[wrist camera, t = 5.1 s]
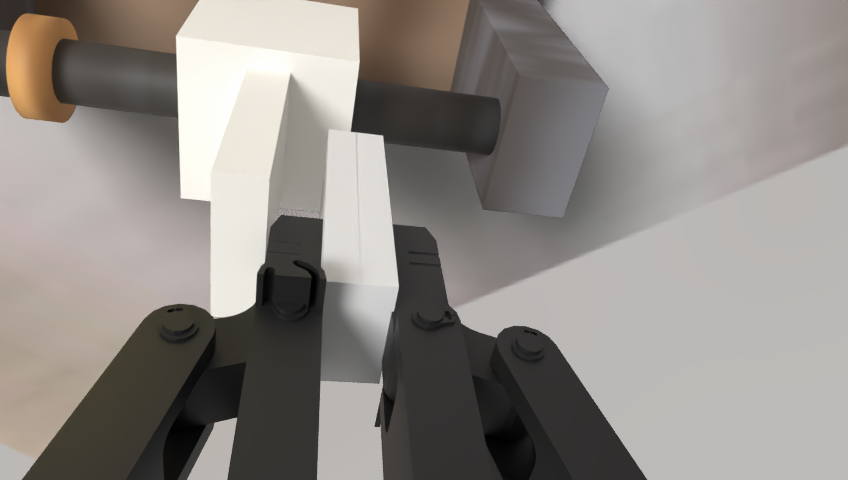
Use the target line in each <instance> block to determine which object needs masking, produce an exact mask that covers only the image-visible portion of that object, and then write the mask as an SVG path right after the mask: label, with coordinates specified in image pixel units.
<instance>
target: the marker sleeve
mask: <svg viewBox="0 0 848 480" xmlns="http://www.w3.org/2000/svg"><path fill="white" fill-rule="evenodd" d="M176 54H177V87H178V120H179V153H180V186H181V198H184V199H194V200H204V201H211V316H217V317H229V316H233V315H237V314H239V313H242V312H244V311H246V310H247V309H249V308H250V307H251V306H253V305H254V303H255V302H256V283H257V272H258V271H259V269H260V267H261V265H263V264H264V263H265V258H266V252H267V246H268V239H269V233H270V227H271V226H272V224H273V223H274V222H275V221H276V220H277V219H278V215H279V209H280V208H283V209H293V210H302V211H312V212H320V205H321V196H322V187H323V178H324V168H325V159H326V150H327V141H328V132H329V129H332V130H340V131H349V132H351V125H352V118H353V110H354V102H355V94H356V87H357V79H358V71H359V63H360V56H359V24H358V8H352V7H345V6H339V5H333V4H326V3H320V2H313V1H307V0H199V1H198V3H197V4H196V6H195V8H194V9H193V11H192V12H191V14H190V15H189V17H188V18H187V20H186V21H185V23H184V24H183V26H182V27H181V29H180V30H179V32H178V34H177V35H176Z"/></svg>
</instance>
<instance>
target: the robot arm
mask: <svg viewBox="0 0 848 480" xmlns="http://www.w3.org/2000/svg"><path fill="white" fill-rule="evenodd" d="M438 254H439V253H438V248H437V243H436V240H435V239H434V237H433V236H432V235H431V234H430V232H429V231H428V230H427V229H426V228H425V227H415V226H404V225H394V224H392V216H391V207H390V197H389V188H388V179H387V169H386V160H385V150H384V141H383V136H382V135H374V134H365V133H357V132H349V131H340V130H332V129H329V132H328V141H327V150H326V159H325V168H324V178H323V187H322V196H321V205H320V215H319V219H316V218H306V217H295V216H285V215H281V216H280V217H279V218H278V219H277V220H276V221H275V222H274V223H273V224H272V226H271V227H270V233H269V239H268V246H267V252H266V258H265V263H264V264H263V265H261V267H260V269H259V271H258V272H257V283H256V302H255V303H254V305H253V306H251V307H250V308H249V309H247V310H246V311H244V312H242V313H239V314H237V315H233V316H229V317H224V318H218V319H214V318H213V316H211V315H210V314H209V313H208V312H207V311H206V310H205V309H202V308H199V307H197V306H194V305H186V304H176V305H169V306H164V307H162V308H160V309H157V310H155V311H153V312H152V313H151V314H149V315H148V316H147V317H146V318H145V319H144V320H143V321H142V322H141V324H140V325H139V326H138V328H137V329H136V330H135V332H134V333H133V334H132V336H131V337H130V338H129V340H128V341H127V342H126V344H125V345H124V346H123V347H122V349H121V350H120V351H119V353H118V354H117V355H116V357H115V358H114V359H113V361H112V362H111V363H110V365H109V366H108V367H107V368H106V370H105V371H104V372H103V374H102V375H101V376H100V378H99V379H98V380H97V382H96V383H95V384H94V386H93V387H92V388H91V390H90V391H89V392H88V393H87V395H86V396H85V397H84V399H83V400H82V401H81V403H80V404H79V405H78V407H77V408H76V409H75V411H74V412H73V413H72V414H71V416H70V417H69V418H68V420H67V421H66V422H65V424H64V425H63V426H62V428H61V429H60V430H59V432H58V433H57V434H56V436H55V437H54V438H53V439H52V441H51V442H50V443H49V445H48V446H47V447H46V449H45V450H44V451H43V453H42V454H41V455H40V457H39V458H38V459H37V460H36V462H35V463H34V465H33V466H32V467H31V468H30V470H29V471H28V472H27V474H26V475H25V476H24V478H23V479H22V480H187V478H188V476H189V474H190V472H191V470H192V468H193V467H194V465H195V463H196V461H197V459H198V457H199V455H200V453H201V451H202V449H203V447H204V445H205V443H206V441H207V439H208V437H209V435H210V434H211V432H212V430H213V427H214V423H215V422H219V421H223V420H228V419H232V418H237V423H236V430H235V436H234V442H233V448H232V454H231V460H230V467H229V473H228V480H317V459H318V432H319V402H320V381H338V382H358V383H378V384H379V382H380V377H381V372H382V375H383V389H382V394H381V398H380V403H379V408H378V413H377V417H376V422H375V427H380V424H381V438H382V456H383V457H382V458H383V477H384V480H647V479H646V477H645V476H644V474H643V473H642V471H641V470H640V469H639V467H638V466H637V464H636V462H635V461H634V460H633V458H632V457H631V455H630V454H629V452H628V451H627V449H626V448H625V446H624V445H623V443H622V442H621V440H620V439H619V437H618V436H617V434H616V433H615V431H614V430H613V428H612V427H611V426H610V424H609V423H608V421H607V420H606V418H605V417H604V415H603V414H602V412H601V411H600V409H599V408H598V406H597V405H596V403H595V402H594V400H593V399H592V398H591V396H590V395H589V393H588V392H587V390H586V389H585V387H584V386H583V384H582V383H581V381H580V380H579V378H578V377H577V375H576V374H575V372H574V371H573V369H572V368H571V366H570V365H569V363H568V362H567V361H566V359H565V358H564V356H563V354H562V353H561V352H560V350H559V349H558V347H557V346H556V344H555V343H554V342H553V341H552V340H551V339H550V338H549V337H548V336H546V335H545V334H543V333H542V332H540V331H538V330H536V329H532V328H529V327H526V326H513V327H509V328H505V329H504V330H503V331H502V332H500V333H499V334H498V337H497V338H495V337H492V336H489V335H485V334H482V333H479V332H476V331H474V330H472V329H469V328H468V327H466V326H464V325H463V324H461V321H460V319H459V317H458V315H457V312H456V311H455V310H453V309H452V308H451V307H450V306H449V305H448V300H447V295H446V290H445V284H444V279H443V274H442V269H441V267H440V266H441V264H440V259H439V256H438Z"/></svg>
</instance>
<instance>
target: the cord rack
mask: <svg viewBox="0 0 848 480" xmlns="http://www.w3.org/2000/svg"><path fill="white" fill-rule="evenodd" d="M198 1H199V0H0V96H5V97H11V100H12V103H13V105H14V107H15V109H16V111H17V112H18V113H19V114H20V115H21V116H22V117H24V118H26V119H35V120H44V121H52V122H61V123H63V122H66V121H67V120H68V119H69V118H70V117H71V116H72V114H73V112H74V110H75V108H76V105H79V106H87V107H96V108H104V109H112V110H120V111H129V112H137V113H145V114H153V115H161V116H170V117H178V87H177V54H176V35H177V34H178V32H179V30H180V29H181V27H182V26H183V24H184V23H185V21H186V20H187V18H188V17H189V15H190V14H191V12H192V11H193V9H194V8H195V6H196V4H197V3H198ZM307 1H313V2H320V3H326V4H333V5H339V6H345V7H352V8H358V24H359V56H360V63H359V71H358V79H357V87H356V94H355V102H354V110H353V118H352V125H351V132H357V133H365V134H374V135H382V136H383V141H384V143H392V144H400V145H408V146H416V147H425V148H433V149H441V150H449V151H457V152H466V155H467V158H468V161H469V165H470V168H471V171H472V175H473V178H474V181H475V185H476V188H477V191H478V195H479V198H480V201H481V205H482V208H483V209H484V210H493V211H503V212H512V213H521V214H531V215H540V216H549V217H559V218H563V216H564V213H565V211H566V208H567V205H568V202H569V199H570V196H571V194H572V191H573V188H574V185H575V182H576V180H577V177H578V174H579V171H580V168H581V165H582V163H583V160H584V157H585V154H586V151H587V149H588V146H589V143H590V140H591V137H592V134H593V132H594V129H595V126H596V123H597V120H598V118H599V115H600V112H601V109H602V106H603V103H604V101H605V98H606V95H607V92H608V89H609V88H608V87H607V85H606V84H605V83H604V82H603V80H602V79H601V78H600V77H599V75H598V74H597V73H596V72H595V70H594V69H593V68H592V67H591V66H590V64H589V63H588V62H587V61H586V59H585V58H584V57H583V56H582V54H581V53H580V52H579V51H578V49H577V48H576V47H575V46H574V45H573V43H572V42H571V41H570V40H569V38H568V37H567V36H566V35H565V33H564V32H563V31H562V30H561V28H560V27H559V26H558V25H557V24H556V22H555V21H554V20H553V19H552V17H551V16H550V15H549V14H548V12H547V11H546V10H545V9H544V7H543V6H542V5H541V4H540V3H539V1H538V0H307Z"/></svg>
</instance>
